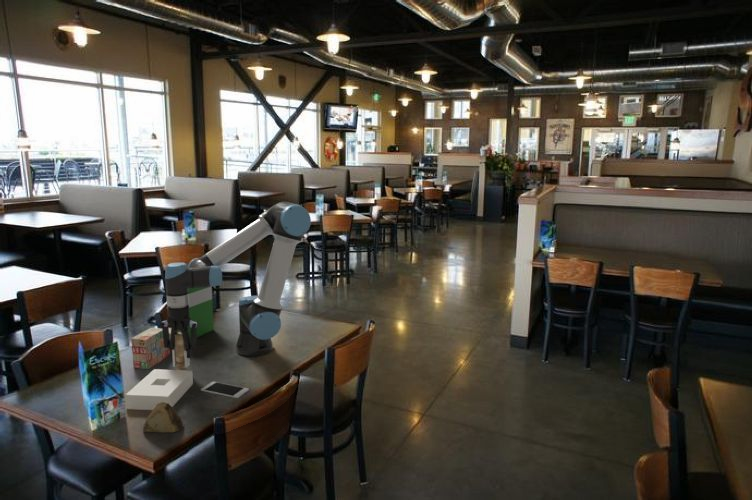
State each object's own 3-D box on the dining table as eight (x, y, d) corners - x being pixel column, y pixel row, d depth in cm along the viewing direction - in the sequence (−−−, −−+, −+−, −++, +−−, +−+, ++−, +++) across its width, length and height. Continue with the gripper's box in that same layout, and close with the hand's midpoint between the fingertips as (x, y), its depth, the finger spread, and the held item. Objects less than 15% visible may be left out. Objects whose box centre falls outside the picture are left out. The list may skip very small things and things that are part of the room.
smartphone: (237, 399, 179) (237, 396, 179) (200, 391, 184) (200, 389, 184) (249, 390, 185) (249, 388, 185) (213, 383, 191) (213, 381, 190)
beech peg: (189, 372, 198) (186, 332, 195) (184, 377, 194) (182, 335, 191) (179, 372, 198) (176, 332, 195) (174, 376, 194) (172, 335, 191)
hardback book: (201, 327, 247) (198, 278, 243) (213, 330, 244) (211, 280, 240) (172, 339, 231) (169, 286, 227) (185, 342, 229) (183, 289, 224)
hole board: (193, 383, 189) (192, 370, 188) (168, 410, 169) (168, 396, 168) (154, 382, 190) (154, 369, 189) (126, 409, 170) (125, 394, 169)
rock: (131, 428, 154) (156, 432, 150) (142, 399, 158) (166, 402, 154) (158, 435, 163) (182, 439, 159) (168, 407, 167) (191, 410, 162)
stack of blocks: (165, 348, 222) (164, 320, 220) (179, 349, 221) (177, 321, 218) (133, 368, 201) (130, 337, 199) (147, 369, 200) (145, 339, 198)
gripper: (150, 307, 188) (154, 369, 192) (196, 309, 187) (199, 370, 192) (160, 301, 195) (163, 360, 200) (204, 303, 194) (207, 362, 199)
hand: (181, 365), depth 196 cm, fingers closed on beech peg, 4 cm apart
